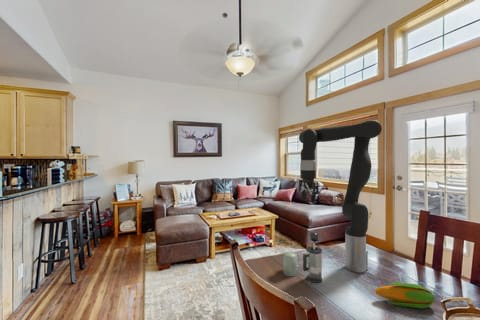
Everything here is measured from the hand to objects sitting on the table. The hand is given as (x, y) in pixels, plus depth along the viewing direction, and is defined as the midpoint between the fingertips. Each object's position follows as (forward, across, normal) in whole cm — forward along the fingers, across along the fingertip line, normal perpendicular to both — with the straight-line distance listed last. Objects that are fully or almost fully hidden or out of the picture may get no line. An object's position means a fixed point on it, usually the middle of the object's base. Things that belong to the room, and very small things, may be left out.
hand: (308, 201), depth 112 cm
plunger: (+26, -10, +4) cm, 29 cm away
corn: (+34, -34, -19) cm, 52 cm away
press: (+34, -10, +4) cm, 35 cm away
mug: (+34, -2, +12) cm, 36 cm away
